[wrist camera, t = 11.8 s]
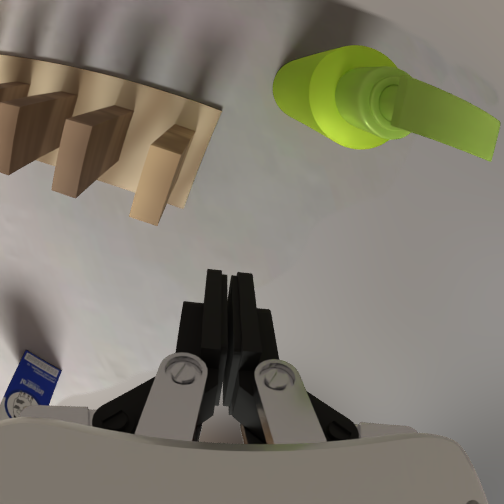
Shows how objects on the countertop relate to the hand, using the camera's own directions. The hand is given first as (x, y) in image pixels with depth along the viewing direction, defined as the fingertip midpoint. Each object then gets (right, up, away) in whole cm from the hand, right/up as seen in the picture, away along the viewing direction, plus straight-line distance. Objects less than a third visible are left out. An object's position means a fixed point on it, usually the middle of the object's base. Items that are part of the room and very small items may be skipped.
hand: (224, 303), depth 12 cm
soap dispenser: (+6, +17, +14) cm, 23 cm away
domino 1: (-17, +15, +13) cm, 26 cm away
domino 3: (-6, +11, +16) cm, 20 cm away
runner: (-17, +15, +13) cm, 26 cm away
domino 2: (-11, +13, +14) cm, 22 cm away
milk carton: (-34, -17, +30) cm, 48 cm away
